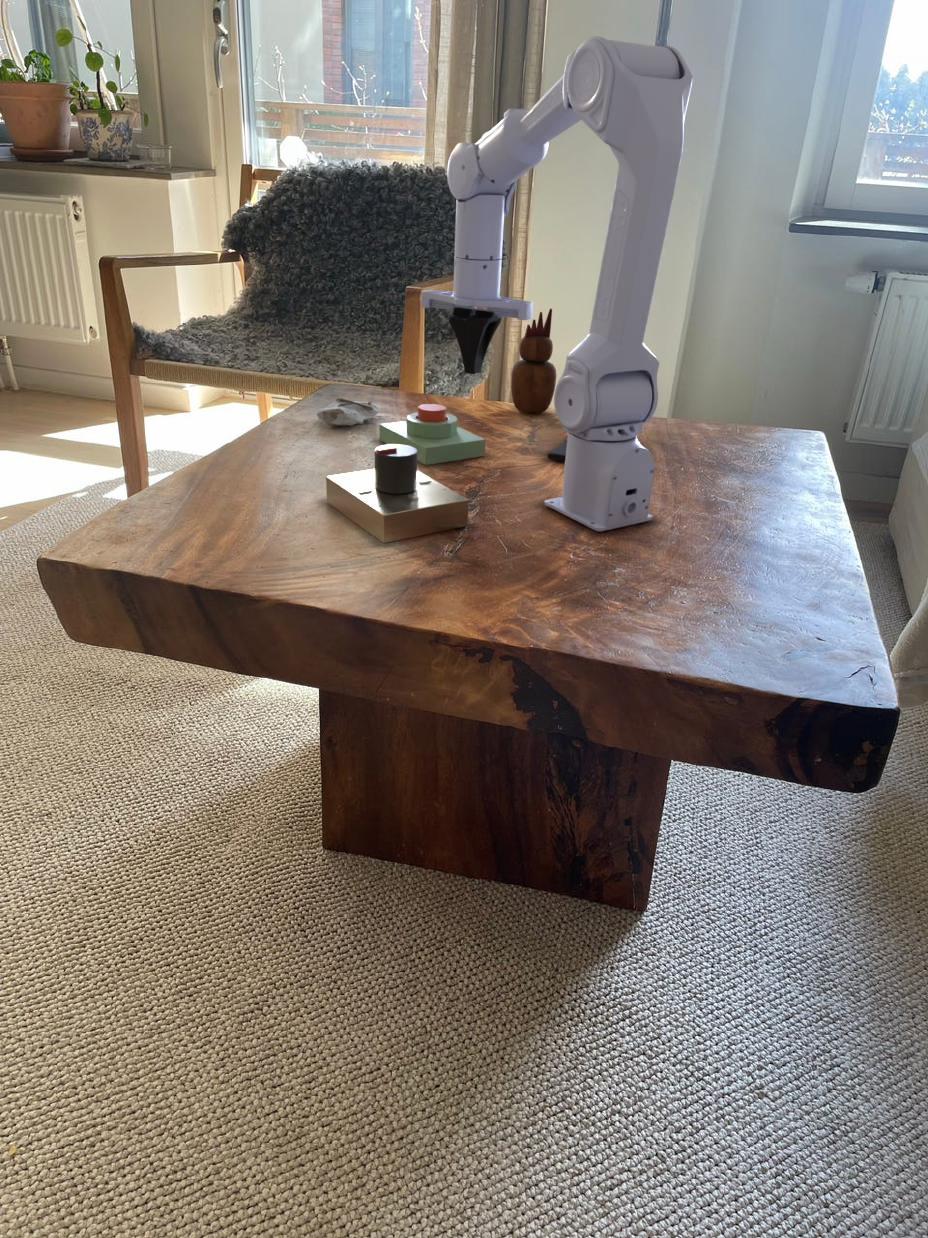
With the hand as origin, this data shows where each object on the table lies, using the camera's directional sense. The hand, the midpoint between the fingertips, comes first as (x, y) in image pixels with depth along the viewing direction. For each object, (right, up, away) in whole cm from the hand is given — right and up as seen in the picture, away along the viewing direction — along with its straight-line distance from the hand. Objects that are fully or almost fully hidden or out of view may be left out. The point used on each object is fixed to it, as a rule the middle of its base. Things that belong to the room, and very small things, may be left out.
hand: (472, 372), depth 113 cm
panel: (-8, -20, -18) cm, 28 cm away
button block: (-5, -9, +4) cm, 11 cm away
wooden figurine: (+9, 0, +23) cm, 25 cm away
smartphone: (+16, -9, +6) cm, 19 cm away
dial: (-8, -17, -20) cm, 28 cm away
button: (-5, -6, +2) cm, 8 cm away
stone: (-18, -3, +13) cm, 22 cm away
